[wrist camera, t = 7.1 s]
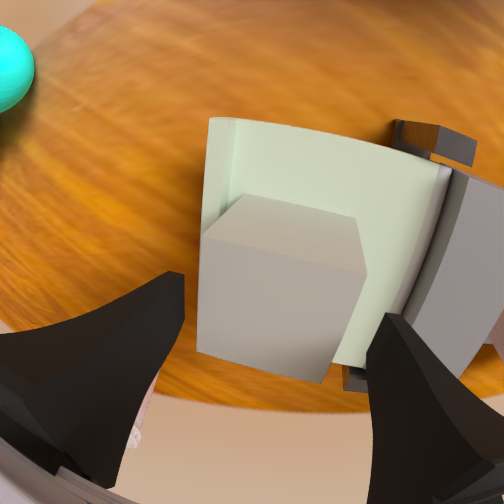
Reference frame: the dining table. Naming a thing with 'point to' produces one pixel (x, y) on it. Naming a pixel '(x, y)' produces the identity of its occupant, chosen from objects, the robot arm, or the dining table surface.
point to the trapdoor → (379, 227)
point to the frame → (422, 144)
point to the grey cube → (278, 286)
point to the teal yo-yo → (14, 68)
